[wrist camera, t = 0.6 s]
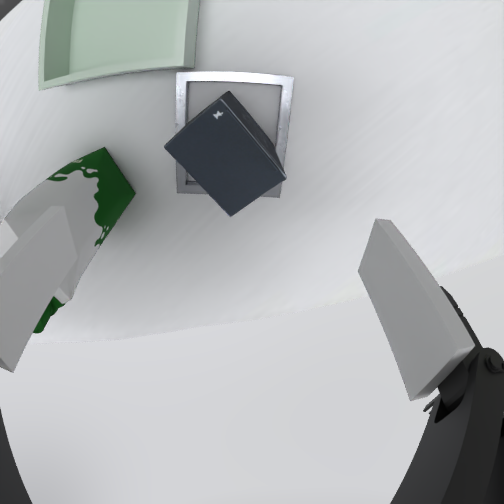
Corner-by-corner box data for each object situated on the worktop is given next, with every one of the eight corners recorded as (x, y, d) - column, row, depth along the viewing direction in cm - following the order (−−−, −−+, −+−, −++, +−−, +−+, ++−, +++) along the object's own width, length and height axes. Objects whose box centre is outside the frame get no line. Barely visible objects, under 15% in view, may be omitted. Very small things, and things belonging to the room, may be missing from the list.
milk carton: (99, 226, 34) (25, 344, 17) (61, 174, 29) (-42, 271, 13) (146, 195, 32) (70, 324, 15) (105, 135, 27) (-18, 223, 11)
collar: (179, 189, 31) (177, 193, 30) (179, 72, 24) (176, 72, 23) (278, 193, 32) (279, 197, 31) (291, 77, 24) (293, 77, 23)
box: (187, 123, 27) (160, 146, 18) (229, 89, 25) (221, 95, 17) (233, 175, 31) (230, 220, 22) (274, 145, 29) (289, 179, 20)
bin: (66, 85, 22) (38, 90, 18) (76, -25, 14) (52, -35, 9) (194, 67, 23) (183, 65, 19) (206, -52, 15) (200, -73, 10)
